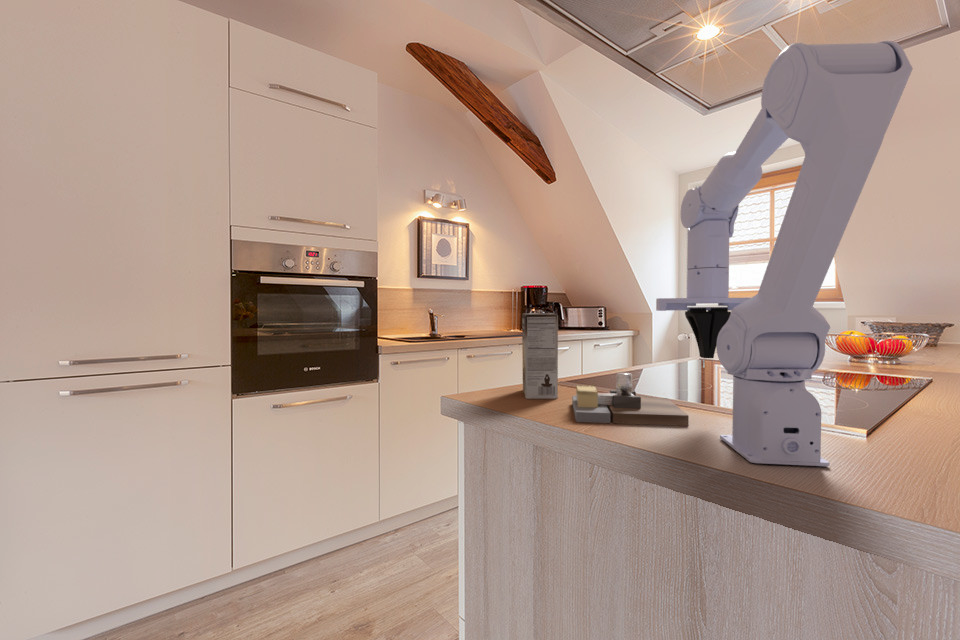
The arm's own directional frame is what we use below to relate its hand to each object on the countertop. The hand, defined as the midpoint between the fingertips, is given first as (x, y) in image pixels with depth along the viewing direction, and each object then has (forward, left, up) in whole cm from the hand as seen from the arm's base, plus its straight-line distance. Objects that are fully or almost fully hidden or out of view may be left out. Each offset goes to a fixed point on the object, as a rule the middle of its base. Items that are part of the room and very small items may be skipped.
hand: (706, 357), depth 68 cm
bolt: (+1, +15, -8) cm, 17 cm away
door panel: (+1, +9, -9) cm, 13 cm away
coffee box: (+15, +26, -10) cm, 32 cm away
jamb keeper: (+1, +18, -9) cm, 20 cm away
